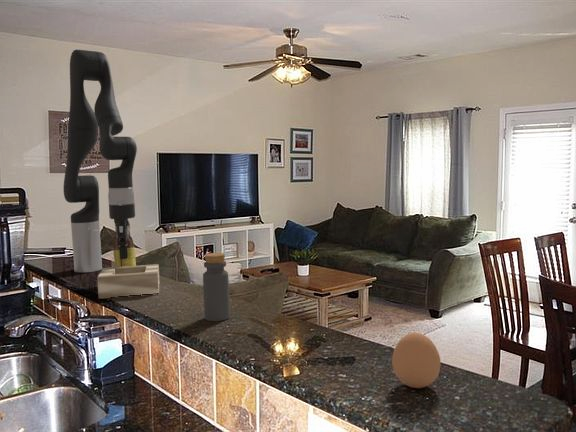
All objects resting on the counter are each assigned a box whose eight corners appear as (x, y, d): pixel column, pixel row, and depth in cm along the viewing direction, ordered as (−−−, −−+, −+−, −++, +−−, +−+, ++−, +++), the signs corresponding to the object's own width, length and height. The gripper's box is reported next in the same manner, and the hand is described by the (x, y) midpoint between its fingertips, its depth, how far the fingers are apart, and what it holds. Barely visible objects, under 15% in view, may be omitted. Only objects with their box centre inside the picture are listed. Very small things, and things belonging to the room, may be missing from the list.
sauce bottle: (140, 278, 169) (136, 216, 167) (132, 283, 163) (128, 218, 161) (120, 278, 170) (116, 216, 168) (111, 283, 164) (107, 218, 162)
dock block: (104, 287, 161) (103, 267, 161) (159, 283, 164) (158, 264, 164) (98, 298, 147) (97, 277, 147) (158, 294, 151) (157, 272, 150)
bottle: (234, 315, 127) (231, 252, 126) (223, 322, 122) (220, 257, 120) (212, 313, 129) (209, 252, 128) (200, 320, 124) (197, 256, 122)
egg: (436, 399, 80) (436, 343, 79) (387, 392, 83) (386, 338, 82) (443, 380, 86) (443, 328, 85) (397, 374, 89) (397, 324, 88)
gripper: (111, 201, 170) (114, 253, 172) (106, 205, 156) (109, 261, 158) (135, 200, 172) (138, 252, 173) (132, 203, 158) (136, 260, 159)
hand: (124, 256), depth 166 cm, fingers closed on sauce bottle, 6 cm apart
